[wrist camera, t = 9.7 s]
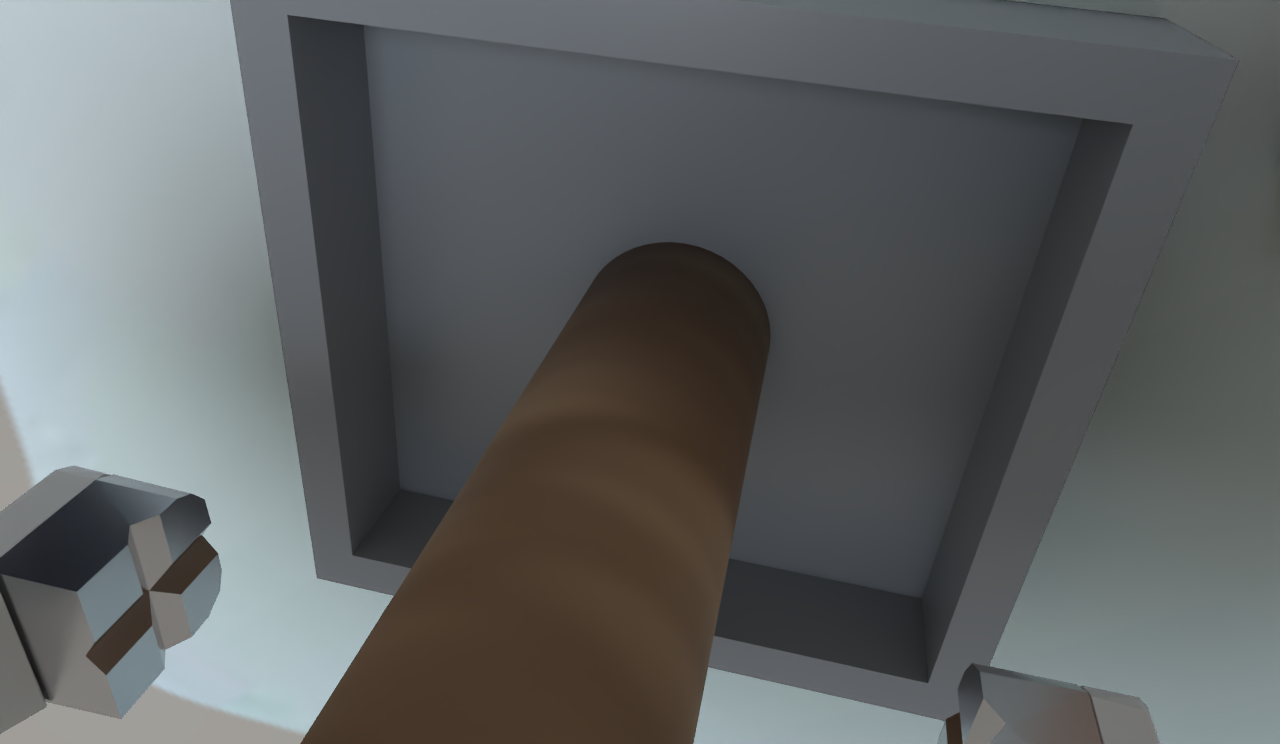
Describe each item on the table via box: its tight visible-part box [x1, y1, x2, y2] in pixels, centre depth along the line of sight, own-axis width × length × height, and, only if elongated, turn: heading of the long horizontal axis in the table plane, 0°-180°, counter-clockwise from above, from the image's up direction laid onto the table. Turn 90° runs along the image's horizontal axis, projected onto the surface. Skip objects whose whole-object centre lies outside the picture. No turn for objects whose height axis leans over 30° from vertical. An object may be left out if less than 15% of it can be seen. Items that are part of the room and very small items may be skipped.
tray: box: [230, 0, 1239, 721], centre depth 14 cm, size 12×11×3 cm
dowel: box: [301, 242, 770, 744], centre depth 11 cm, size 3×3×10 cm
